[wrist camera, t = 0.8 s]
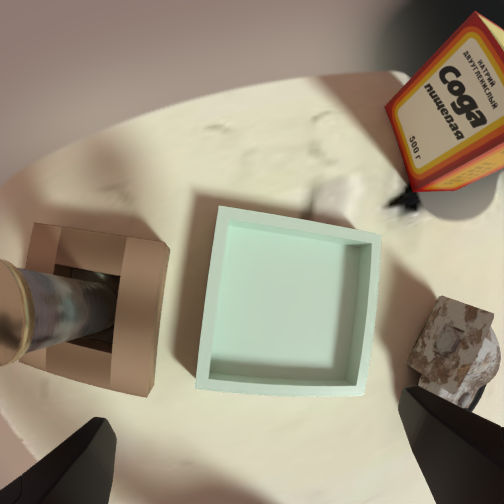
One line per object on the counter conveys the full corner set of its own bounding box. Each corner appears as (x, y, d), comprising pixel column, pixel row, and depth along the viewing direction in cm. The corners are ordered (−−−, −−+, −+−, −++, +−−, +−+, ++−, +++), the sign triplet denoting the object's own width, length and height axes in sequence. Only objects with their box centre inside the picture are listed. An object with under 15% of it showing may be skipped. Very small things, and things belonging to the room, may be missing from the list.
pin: (117, 338, 20) (19, 382, 7) (70, 327, 20) (-49, 348, 7) (124, 284, 21) (27, 265, 8) (76, 275, 20) (-42, 248, 7)
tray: (349, 387, 22) (363, 395, 20) (195, 378, 20) (194, 388, 18) (365, 240, 24) (381, 234, 21) (217, 215, 22) (218, 205, 20)
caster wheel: (431, 416, 25) (374, 404, 23) (481, 325, 25) (436, 292, 23) (468, 446, 19) (416, 445, 17) (526, 343, 19) (492, 311, 16)
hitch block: (153, 385, 20) (146, 397, 17) (37, 355, 19) (18, 361, 16) (170, 249, 22) (164, 242, 19) (52, 231, 20) (34, 222, 17)
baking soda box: (384, 106, 27) (477, 8, 11) (427, 113, 28) (518, 36, 12) (412, 192, 26) (545, 118, 10) (454, 190, 27) (570, 134, 11)
